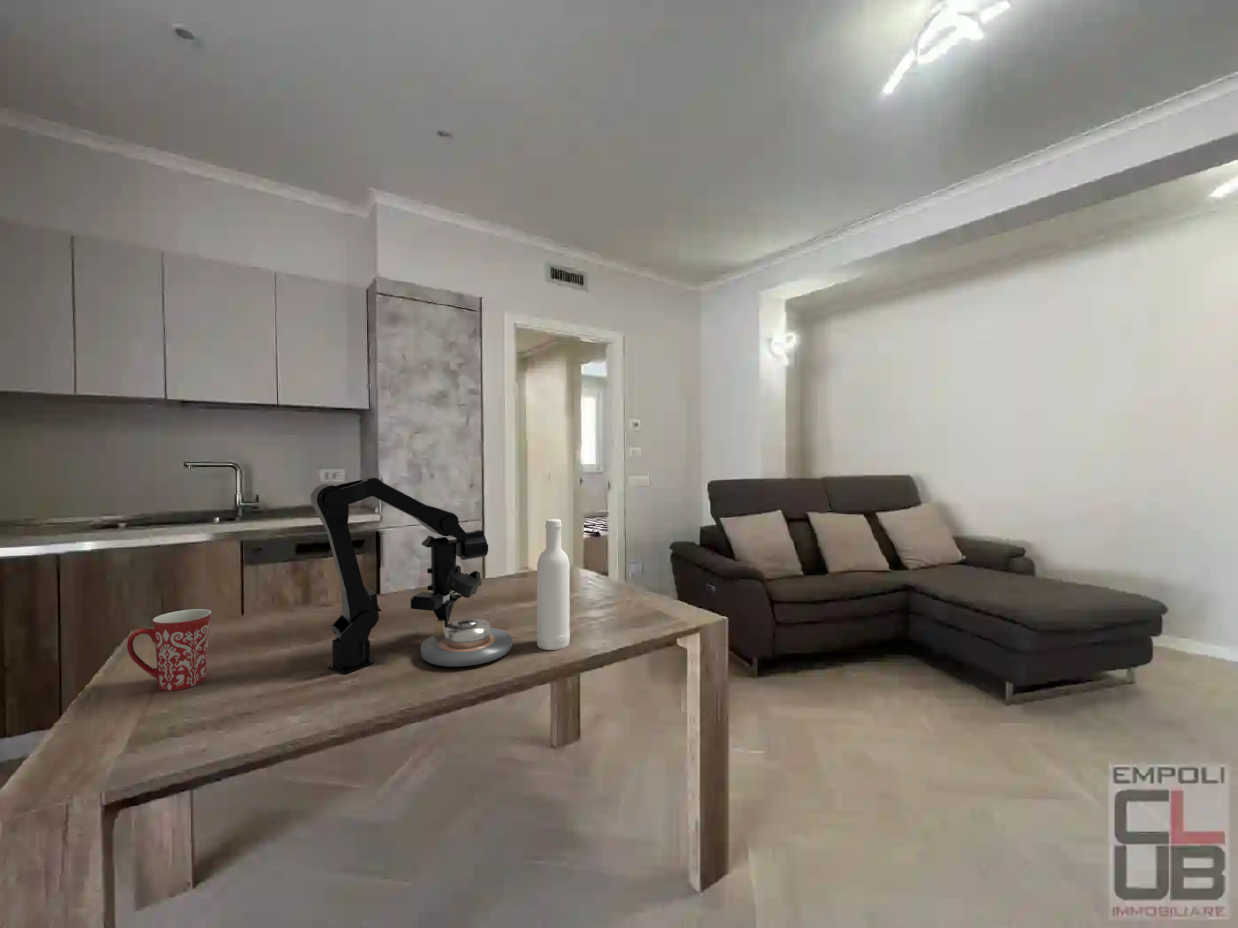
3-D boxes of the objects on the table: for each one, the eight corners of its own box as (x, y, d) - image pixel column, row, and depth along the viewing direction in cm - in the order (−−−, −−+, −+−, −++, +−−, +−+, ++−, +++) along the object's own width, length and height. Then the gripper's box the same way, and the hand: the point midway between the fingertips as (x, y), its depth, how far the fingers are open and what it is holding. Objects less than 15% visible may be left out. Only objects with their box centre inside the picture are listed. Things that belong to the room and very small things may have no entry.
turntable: (472, 673, 107) (472, 648, 107) (400, 656, 115) (400, 633, 115) (528, 641, 125) (528, 619, 125) (463, 628, 133) (463, 608, 133)
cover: (470, 652, 114) (470, 631, 113) (435, 644, 118) (435, 624, 118) (499, 637, 123) (499, 618, 122) (465, 631, 127) (465, 612, 127)
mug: (214, 669, 110) (214, 605, 110) (209, 685, 102) (208, 617, 102) (134, 683, 103) (133, 615, 103) (122, 702, 96) (120, 629, 95)
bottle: (566, 636, 130) (566, 517, 130) (573, 648, 123) (573, 521, 122) (534, 640, 128) (534, 518, 127) (539, 652, 120) (539, 522, 120)
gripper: (452, 575, 114) (453, 645, 115) (492, 556, 132) (493, 616, 133) (408, 572, 117) (409, 640, 118) (453, 553, 135) (453, 612, 136)
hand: (444, 626), depth 126 cm, fingers closed
